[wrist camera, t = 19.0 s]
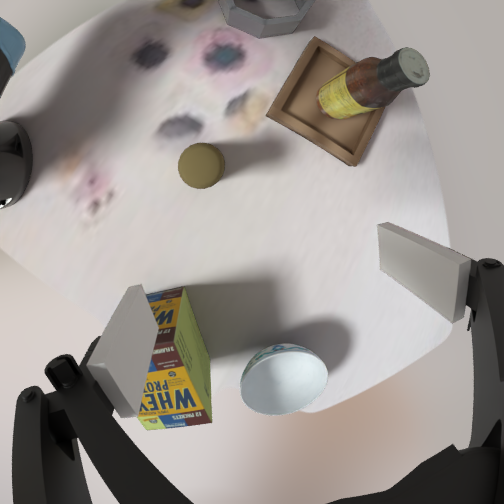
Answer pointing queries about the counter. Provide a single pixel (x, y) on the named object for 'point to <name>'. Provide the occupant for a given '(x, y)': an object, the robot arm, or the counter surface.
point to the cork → (201, 165)
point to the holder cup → (260, 25)
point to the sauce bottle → (371, 84)
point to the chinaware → (282, 379)
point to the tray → (309, 115)
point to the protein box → (176, 367)
